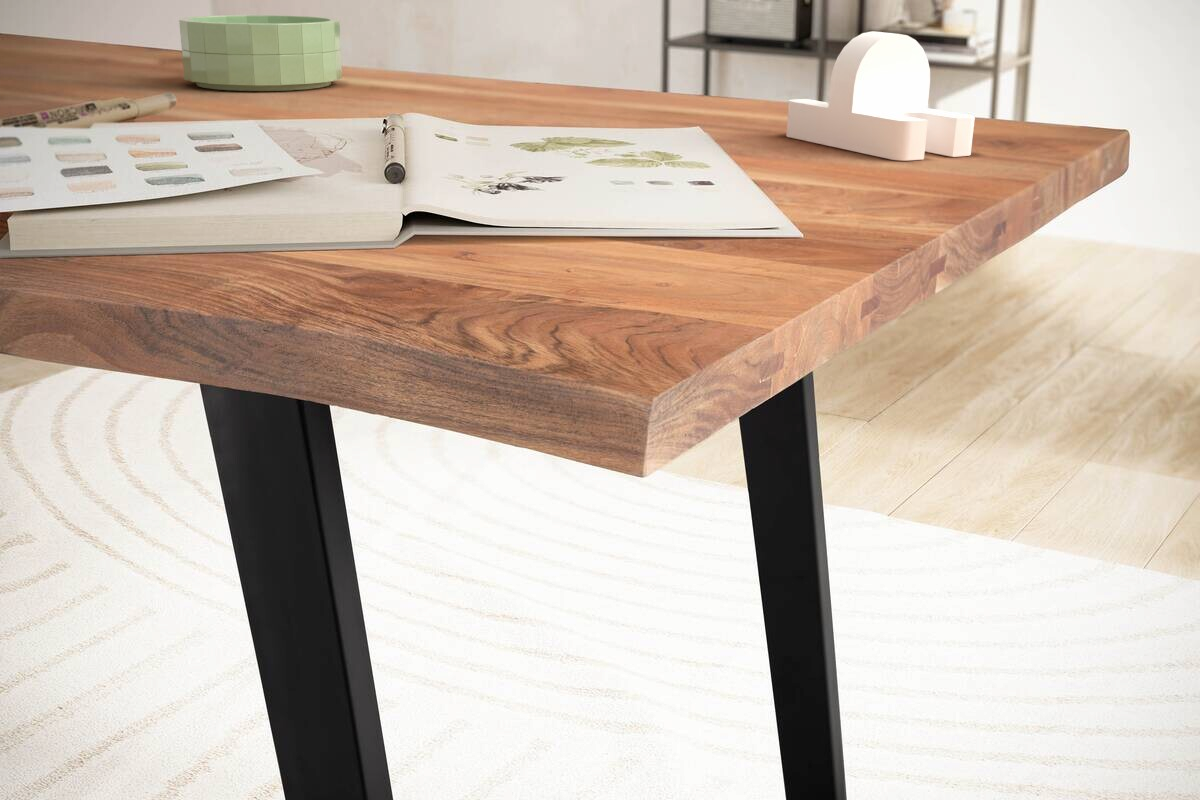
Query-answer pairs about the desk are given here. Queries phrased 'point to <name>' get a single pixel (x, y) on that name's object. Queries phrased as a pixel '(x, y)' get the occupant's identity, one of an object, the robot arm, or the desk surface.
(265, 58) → the green round bowl
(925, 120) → the slotted bracket
